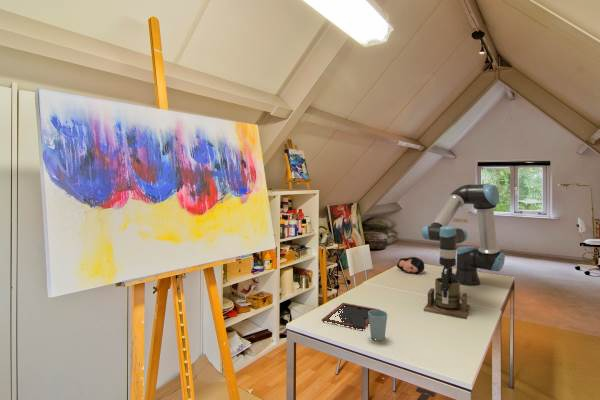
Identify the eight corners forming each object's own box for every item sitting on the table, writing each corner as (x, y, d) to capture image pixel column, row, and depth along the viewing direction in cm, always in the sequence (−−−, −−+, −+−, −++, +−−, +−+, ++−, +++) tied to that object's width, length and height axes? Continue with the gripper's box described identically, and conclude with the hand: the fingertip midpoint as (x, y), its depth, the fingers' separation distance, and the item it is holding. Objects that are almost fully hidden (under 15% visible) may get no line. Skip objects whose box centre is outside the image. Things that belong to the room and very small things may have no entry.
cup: (385, 343, 130) (385, 318, 130) (366, 339, 133) (366, 314, 133) (389, 336, 137) (389, 311, 136) (371, 332, 140) (370, 308, 140)
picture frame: (363, 332, 142) (379, 312, 163) (363, 327, 142) (379, 308, 163) (321, 323, 152) (342, 305, 173) (321, 318, 152) (342, 302, 173)
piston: (457, 285, 157) (432, 281, 164) (457, 309, 158) (432, 305, 165) (461, 279, 167) (438, 276, 173) (461, 302, 167) (438, 298, 174)
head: (393, 264, 233) (423, 266, 224) (396, 252, 242) (424, 254, 234) (395, 276, 239) (424, 279, 230) (397, 264, 248) (425, 267, 240)
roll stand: (431, 300, 179) (431, 285, 178) (469, 307, 168) (470, 291, 168) (423, 311, 164) (423, 294, 163) (465, 319, 153) (466, 301, 153)
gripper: (443, 252, 177) (443, 292, 178) (435, 260, 157) (434, 305, 158) (458, 253, 173) (458, 294, 174) (452, 262, 153) (451, 308, 154)
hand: (447, 299), depth 166 cm, fingers closed on piston, 11 cm apart
